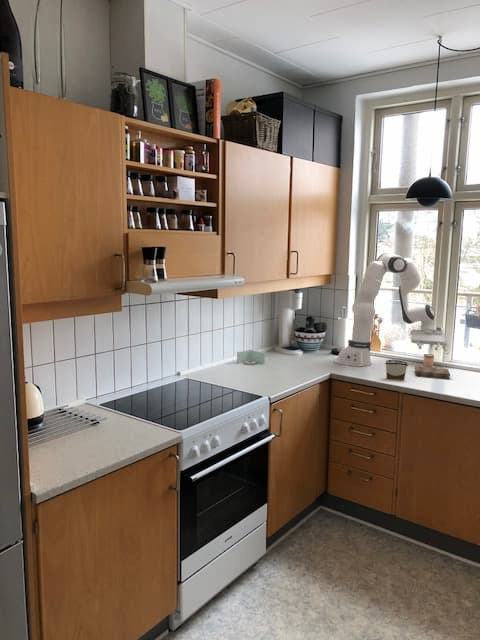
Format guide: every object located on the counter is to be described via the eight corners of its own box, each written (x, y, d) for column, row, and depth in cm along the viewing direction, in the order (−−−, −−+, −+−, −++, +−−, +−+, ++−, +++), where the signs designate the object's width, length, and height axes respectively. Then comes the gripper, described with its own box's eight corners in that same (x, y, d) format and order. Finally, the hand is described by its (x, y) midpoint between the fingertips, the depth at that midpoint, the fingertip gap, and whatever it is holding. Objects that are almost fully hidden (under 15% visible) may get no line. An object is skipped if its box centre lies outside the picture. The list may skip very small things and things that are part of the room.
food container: (404, 377, 285) (405, 360, 284) (406, 380, 279) (408, 362, 278) (381, 376, 286) (383, 358, 285) (383, 379, 280) (385, 361, 279)
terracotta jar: (423, 370, 304) (424, 355, 303) (422, 368, 310) (423, 353, 309) (433, 371, 303) (434, 356, 302) (432, 369, 308) (433, 354, 307)
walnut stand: (415, 376, 289) (416, 371, 289) (414, 370, 302) (414, 366, 301) (449, 379, 285) (450, 374, 284) (447, 373, 297) (447, 368, 297)
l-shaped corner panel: (236, 364, 305) (237, 352, 304) (249, 361, 314) (250, 349, 313) (252, 368, 297) (252, 355, 296) (265, 365, 306) (265, 352, 305)
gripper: (411, 326, 320) (410, 344, 313) (446, 329, 315) (446, 347, 307) (410, 332, 325) (409, 350, 317) (444, 334, 320) (445, 353, 312)
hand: (428, 349), depth 312 cm, fingers open, 8 cm apart
